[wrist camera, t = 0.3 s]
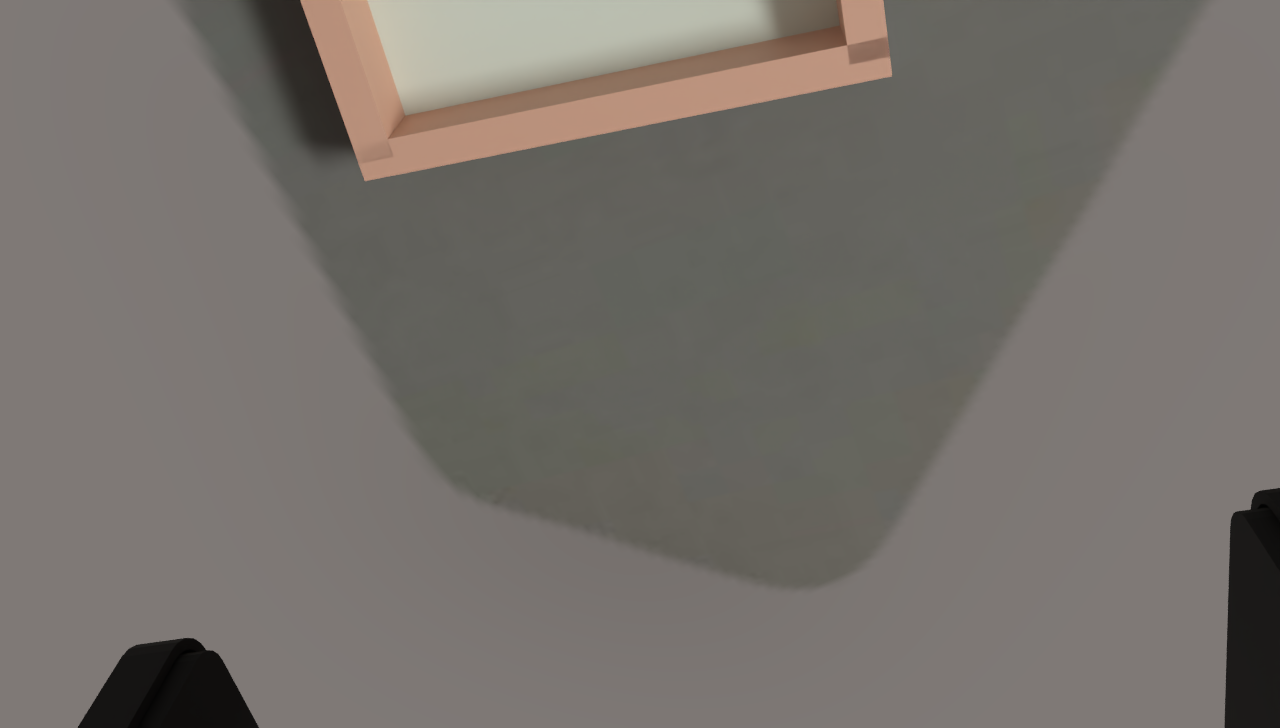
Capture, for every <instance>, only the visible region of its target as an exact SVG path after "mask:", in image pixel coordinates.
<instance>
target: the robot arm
mask: <svg viewBox="0 0 1280 728" xmlns="http://www.w3.org/2000/svg"><path fill="white" fill-rule="evenodd" d="M1227 630H1228V631H1227V665H1226V666H1227V667H1226V698H1225V728H1280V488H1277V489H1270V490H1262V491H1259V492H1257V493H1255V495H1254V497H1253V499H1252V504H1251V510H1245V511H1238V512H1235V513H1234V514H1233V516H1232V519H1231V526H1230V562H1229V596H1228V629H1227ZM78 728H259V727H258V725H257V723H256V721H255V720H254V718H253V716H252V714H251V712H250V710H249V708H248V707H247V705H246V703H245V701H244V699H243V697H242V695H241V694H240V692H239V690H238V688H237V686H236V684H235V683H234V681H233V679H232V677H231V675H230V673H229V671H228V669H227V668H226V666H225V664H224V662H223V660H222V659H221V658H220V656H219V655H218V654H217V653H216V652H214V651H206V650H205V648H204V647H203V645H202V644H201V643H200V642H198V641H197V640H195V639H193V638H183V639H176V640H169V641H162V642H154V643H147V644H140V645H136V646H134V647H132V648H130V649H128V650H127V651H126V653H125V654H124V655H123V656H122V657H121V659H120V661H119V662H118V664H117V665H116V667H115V669H114V670H113V672H112V673H111V675H110V677H109V678H108V680H107V682H106V683H105V685H104V686H103V688H102V689H101V691H100V693H99V694H98V696H97V697H96V699H95V701H94V702H93V704H92V706H91V707H90V709H89V710H88V712H87V714H86V715H85V717H84V718H83V720H82V722H81V723H80V725H79V726H78Z"/></svg>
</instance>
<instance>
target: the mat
mask: <svg viewBox="0 0 1280 728" xmlns="http://www.w3.org/2000/svg"><path fill="white" fill-rule="evenodd" d="M367 1H368V4H369V7H370V10H371V13H372V16H373V19H374V22H375V25H376V28H377V31H378V34H379V37H380V40H381V43H382V46H383V49H384V52H385V55H386V58H387V61H388V64H389V67H390V70H391V73H392V76H393V79H394V83H395V86H396V89H397V92H398V95H399V98H400V101H401V104H402V107H403V110H404V113H405V116H407V115H411V114H416V113H421V112H426V111H431V110H435V109H440V108H445V107H450V106H455V105H460V104H464V103H469V102H474V101H479V100H484V99H488V98H493V97H498V96H503V95H508V94H513V93H517V92H522V91H527V90H532V89H537V88H542V87H546V86H551V85H556V84H561V83H566V82H570V81H575V80H580V79H585V78H590V77H595V76H599V75H604V74H609V73H614V72H619V71H623V70H628V69H633V68H638V67H643V66H648V65H652V64H657V63H662V62H667V61H672V60H677V59H681V58H686V57H691V56H696V55H701V54H705V53H710V52H715V51H720V50H725V49H730V48H734V47H739V46H744V45H749V44H754V43H758V42H763V41H768V40H773V39H778V38H783V37H787V36H792V35H797V34H802V33H807V32H811V31H816V30H821V29H826V28H831V27H836V26H840V24H839V17H838V9H837V2H836V0H367Z"/></svg>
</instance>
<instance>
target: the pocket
mask: <svg viewBox="0 0 1280 728" xmlns="http://www.w3.org/2000/svg"><path fill="white" fill-rule="evenodd" d="M300 1H301V4H302V7H303V9H304V12H305V15H306V18H307V21H308V23H309V26H310V29H311V32H312V34H313V37H314V40H315V43H316V46H317V48H318V51H319V54H320V57H321V60H322V62H323V65H324V68H325V71H326V74H327V76H328V79H329V82H330V85H331V88H332V90H333V93H334V96H335V99H336V101H337V104H338V107H339V110H340V113H341V115H342V118H343V121H344V124H345V127H346V129H347V132H348V135H349V138H350V141H351V143H352V146H353V149H354V152H355V155H356V157H357V160H358V163H359V166H360V169H361V171H362V174H363V177H364V180H365V181H368V180H373V179H378V178H383V177H388V176H393V175H398V174H403V173H408V172H413V171H418V170H423V169H428V168H433V167H438V166H443V165H449V164H454V163H459V162H464V161H469V160H474V159H479V158H484V157H489V156H494V155H499V154H504V153H509V152H514V151H519V150H524V149H529V148H534V147H539V146H544V145H549V144H554V143H559V142H564V141H569V140H574V139H579V138H584V137H589V136H594V135H599V134H604V133H609V132H614V131H619V130H624V129H629V128H634V127H639V126H644V125H650V124H655V123H660V122H665V121H670V120H675V119H680V118H685V117H690V116H695V115H700V114H705V113H710V112H715V111H720V110H725V109H730V108H735V107H740V106H745V105H750V104H755V103H760V102H765V101H770V100H775V99H780V98H785V97H790V96H795V95H800V94H805V93H810V92H815V91H820V90H825V89H830V88H835V87H840V86H846V85H851V84H856V83H861V82H866V81H871V80H876V79H881V78H886V77H891V76H892V70H891V62H890V53H889V45H888V36H887V28H886V19H885V11H884V2H883V0H836V2H837V9H838V17H839V24H840V26H836V27H831V28H826V29H821V30H816V31H811V32H807V33H802V34H797V35H792V36H787V37H783V38H778V39H773V40H768V41H763V42H758V43H754V44H749V45H744V46H739V47H734V48H730V49H725V50H720V51H715V52H710V53H705V54H701V55H696V56H691V57H686V58H681V59H677V60H672V61H667V62H662V63H657V64H652V65H648V66H643V67H638V68H633V69H628V70H623V71H619V72H614V73H609V74H604V75H599V76H595V77H590V78H585V79H580V80H575V81H570V82H566V83H561V84H556V85H551V86H546V87H542V88H537V89H532V90H527V91H522V92H517V93H513V94H508V95H503V96H498V97H493V98H488V99H484V100H479V101H474V102H469V103H464V104H460V105H455V106H450V107H445V108H440V109H435V110H431V111H426V112H421V113H416V114H411V115H407V116H405V113H404V110H403V107H402V104H401V101H400V98H399V95H398V92H397V89H396V86H395V83H394V79H393V76H392V73H391V70H390V67H389V64H388V61H387V58H386V55H385V52H384V49H383V46H382V43H381V40H380V37H379V34H378V31H377V28H376V25H375V22H374V19H373V16H372V13H371V10H370V7H369V4H368V1H367V0H300Z"/></svg>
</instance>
